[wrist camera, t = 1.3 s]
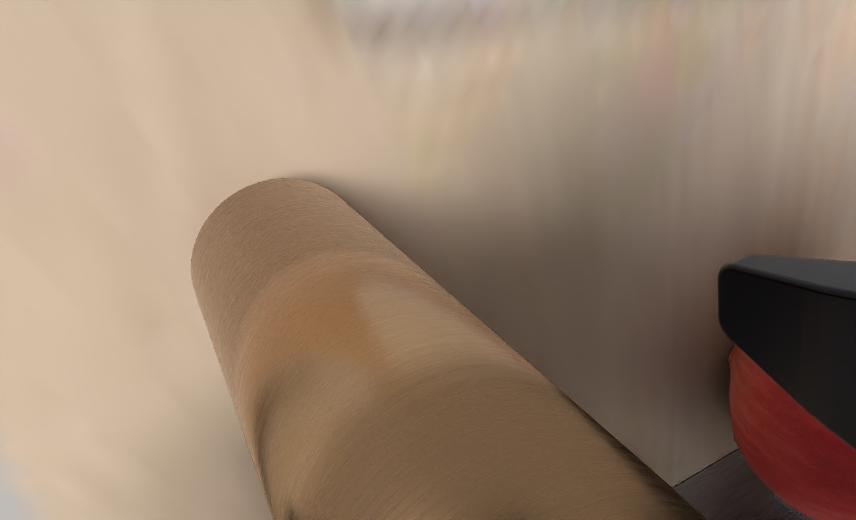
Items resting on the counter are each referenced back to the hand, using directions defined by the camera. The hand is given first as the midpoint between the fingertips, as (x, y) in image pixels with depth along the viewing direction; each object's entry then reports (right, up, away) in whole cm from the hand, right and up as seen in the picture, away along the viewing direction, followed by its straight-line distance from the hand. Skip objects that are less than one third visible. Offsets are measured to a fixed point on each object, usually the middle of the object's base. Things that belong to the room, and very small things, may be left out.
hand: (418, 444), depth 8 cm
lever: (0, -2, +8) cm, 8 cm away
